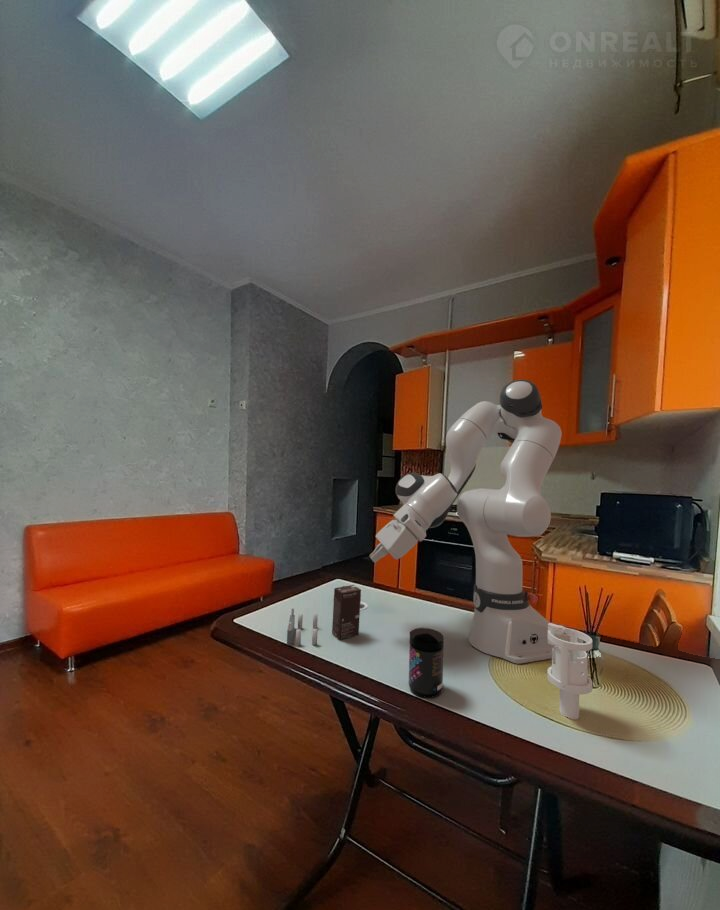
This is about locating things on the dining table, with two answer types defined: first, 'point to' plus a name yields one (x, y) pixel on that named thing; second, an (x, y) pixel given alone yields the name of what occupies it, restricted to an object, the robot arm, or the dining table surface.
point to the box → (346, 612)
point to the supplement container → (426, 662)
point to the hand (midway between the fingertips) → (372, 559)
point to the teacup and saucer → (364, 605)
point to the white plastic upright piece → (569, 668)
